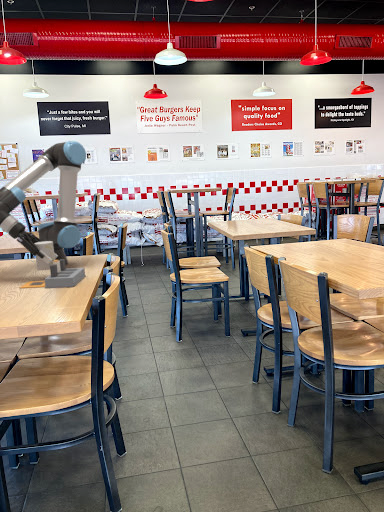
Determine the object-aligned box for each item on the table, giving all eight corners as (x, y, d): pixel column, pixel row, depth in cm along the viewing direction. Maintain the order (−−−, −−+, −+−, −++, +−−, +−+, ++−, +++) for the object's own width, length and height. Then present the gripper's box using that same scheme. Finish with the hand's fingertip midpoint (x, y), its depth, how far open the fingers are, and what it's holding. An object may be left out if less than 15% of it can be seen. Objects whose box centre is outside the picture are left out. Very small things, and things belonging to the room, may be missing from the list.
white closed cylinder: (50, 270, 193) (46, 244, 191) (34, 270, 195) (30, 244, 193) (59, 266, 201) (56, 240, 199) (43, 266, 203) (40, 241, 200)
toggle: (56, 271, 191) (55, 259, 190) (60, 271, 191) (59, 259, 190) (54, 273, 188) (52, 261, 187) (58, 272, 188) (57, 260, 187)
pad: (29, 282, 193) (29, 281, 193) (53, 281, 193) (53, 280, 193) (19, 288, 182) (19, 287, 182) (45, 287, 182) (45, 286, 182)
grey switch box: (59, 277, 200) (57, 258, 198) (85, 276, 200) (83, 257, 198) (45, 288, 180) (43, 267, 179) (73, 286, 180) (71, 265, 179)
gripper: (17, 230, 205) (55, 261, 208) (-2, 237, 185) (40, 271, 188) (27, 218, 204) (64, 249, 207) (8, 224, 183) (50, 258, 186)
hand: (53, 259), depth 197 cm, fingers closed on white closed cylinder, 8 cm apart
